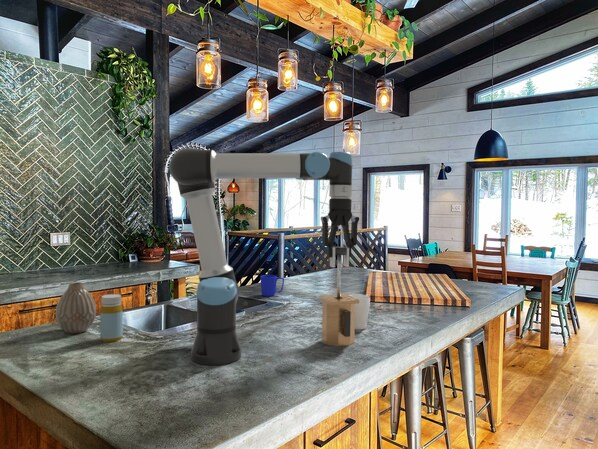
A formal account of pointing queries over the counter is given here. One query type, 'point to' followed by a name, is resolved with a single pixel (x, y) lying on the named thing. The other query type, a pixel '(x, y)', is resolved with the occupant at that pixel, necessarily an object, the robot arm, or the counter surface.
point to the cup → (361, 310)
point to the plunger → (339, 268)
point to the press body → (338, 319)
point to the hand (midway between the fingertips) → (339, 266)
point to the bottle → (111, 318)
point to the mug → (269, 285)
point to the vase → (75, 309)
